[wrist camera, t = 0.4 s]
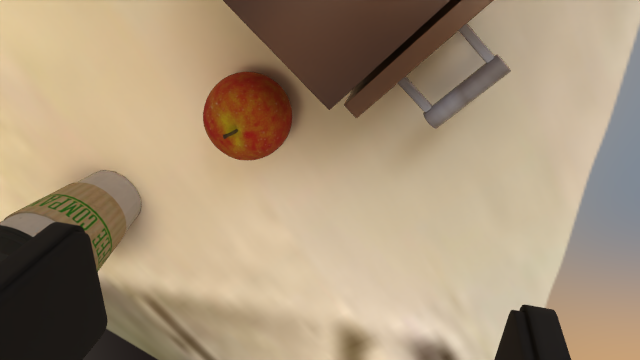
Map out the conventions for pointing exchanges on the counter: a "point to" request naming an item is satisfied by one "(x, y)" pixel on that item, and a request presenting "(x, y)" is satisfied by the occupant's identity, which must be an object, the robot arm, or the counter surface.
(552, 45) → the counter surface
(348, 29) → the cabinet
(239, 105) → the fruit
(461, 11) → the drawer
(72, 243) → the robot arm
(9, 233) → the coffee cup
